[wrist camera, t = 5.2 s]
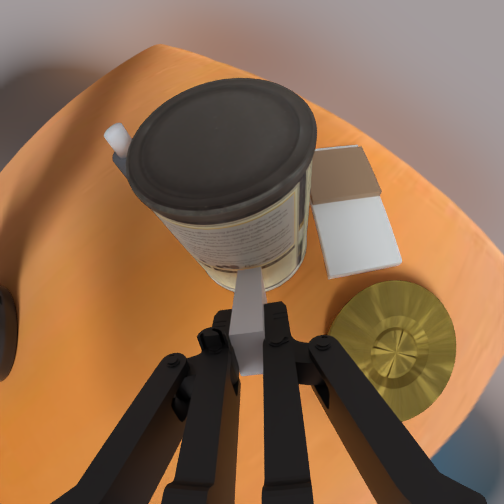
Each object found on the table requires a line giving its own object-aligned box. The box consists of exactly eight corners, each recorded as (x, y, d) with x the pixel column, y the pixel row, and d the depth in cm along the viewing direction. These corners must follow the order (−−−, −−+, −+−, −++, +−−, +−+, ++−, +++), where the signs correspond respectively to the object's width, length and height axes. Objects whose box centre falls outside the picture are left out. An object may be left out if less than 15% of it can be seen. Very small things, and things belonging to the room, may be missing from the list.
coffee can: (184, 224, 28) (115, 124, 15) (274, 180, 28) (258, 61, 15) (223, 315, 24) (146, 256, 11) (328, 262, 24) (360, 154, 11)
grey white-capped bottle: (140, 204, 30) (94, 149, 21) (143, 181, 31) (102, 125, 22) (167, 198, 29) (125, 136, 20) (168, 174, 31) (132, 113, 22)
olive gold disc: (299, 325, 23) (300, 321, 21) (409, 265, 23) (418, 257, 21) (354, 443, 18) (360, 449, 16) (460, 371, 19) (472, 371, 17)
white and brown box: (328, 279, 24) (331, 273, 22) (297, 157, 29) (296, 146, 28) (398, 265, 23) (405, 258, 22) (355, 150, 29) (358, 140, 27)
